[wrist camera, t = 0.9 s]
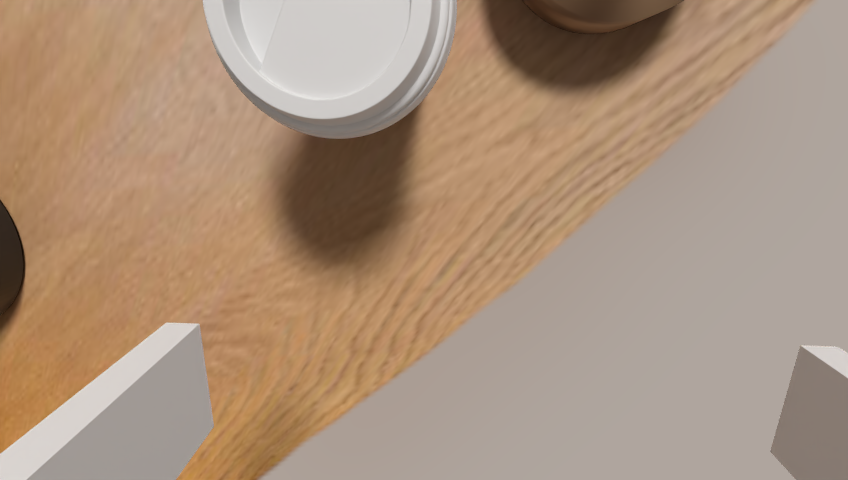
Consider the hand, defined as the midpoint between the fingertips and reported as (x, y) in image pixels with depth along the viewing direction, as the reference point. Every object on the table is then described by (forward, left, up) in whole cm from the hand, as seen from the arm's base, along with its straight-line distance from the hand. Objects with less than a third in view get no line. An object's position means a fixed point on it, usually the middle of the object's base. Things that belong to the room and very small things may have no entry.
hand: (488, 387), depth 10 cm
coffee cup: (-9, +6, -23) cm, 26 cm away
